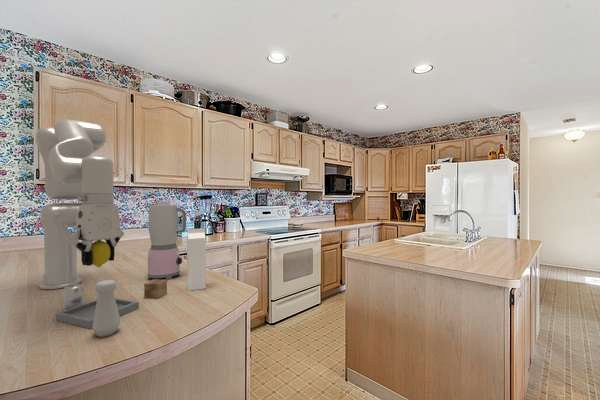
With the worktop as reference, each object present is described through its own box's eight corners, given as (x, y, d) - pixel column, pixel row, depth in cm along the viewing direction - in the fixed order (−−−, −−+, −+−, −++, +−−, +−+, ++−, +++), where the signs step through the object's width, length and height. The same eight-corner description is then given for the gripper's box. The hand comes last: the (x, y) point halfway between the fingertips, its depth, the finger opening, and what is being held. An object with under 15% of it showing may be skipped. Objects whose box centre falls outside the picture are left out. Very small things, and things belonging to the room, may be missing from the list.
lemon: (98, 270, 78) (98, 241, 77) (82, 269, 79) (81, 240, 79) (115, 265, 83) (115, 238, 83) (99, 264, 84) (99, 237, 84)
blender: (141, 281, 112) (140, 201, 112) (157, 272, 125) (156, 201, 124) (180, 281, 112) (179, 201, 112) (192, 272, 124) (191, 201, 124)
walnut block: (144, 298, 94) (144, 283, 94) (153, 293, 99) (153, 279, 98) (158, 299, 93) (158, 284, 93) (166, 293, 98) (166, 279, 98)
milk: (187, 286, 106) (186, 228, 106) (204, 284, 109) (203, 227, 109) (188, 291, 101) (187, 230, 100) (206, 288, 103) (205, 228, 103)
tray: (55, 320, 77) (55, 313, 77) (106, 302, 90) (106, 296, 90) (90, 328, 72) (90, 321, 72) (138, 308, 85) (138, 301, 85)
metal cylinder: (61, 311, 83) (61, 287, 83) (77, 305, 88) (77, 283, 87) (71, 313, 82) (70, 289, 82) (86, 307, 86) (86, 284, 86)
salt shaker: (102, 327, 73) (101, 278, 72) (125, 326, 73) (124, 277, 73) (86, 339, 67) (86, 285, 67) (112, 338, 67) (111, 284, 67)
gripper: (73, 200, 71) (74, 271, 71) (134, 199, 87) (135, 257, 88) (55, 200, 74) (56, 268, 74) (117, 199, 90) (117, 255, 90)
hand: (98, 261), depth 81 cm, fingers closed on lemon, 5 cm apart
